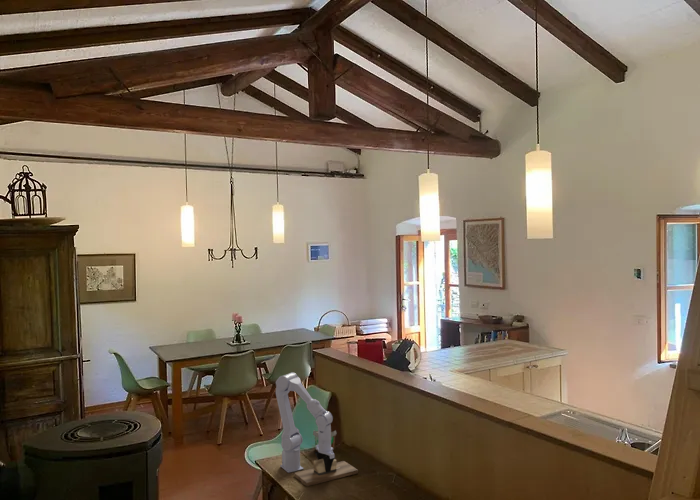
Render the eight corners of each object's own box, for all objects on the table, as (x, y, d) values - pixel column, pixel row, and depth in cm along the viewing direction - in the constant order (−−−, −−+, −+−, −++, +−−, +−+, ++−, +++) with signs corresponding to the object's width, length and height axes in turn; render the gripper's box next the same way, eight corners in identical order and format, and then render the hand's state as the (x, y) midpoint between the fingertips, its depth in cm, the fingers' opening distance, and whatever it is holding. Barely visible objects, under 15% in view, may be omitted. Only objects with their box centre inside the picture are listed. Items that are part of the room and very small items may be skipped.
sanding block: (313, 471, 247) (313, 460, 247) (331, 467, 251) (331, 456, 251) (318, 475, 242) (318, 464, 242) (336, 471, 247) (336, 460, 247)
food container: (310, 452, 275) (310, 433, 275) (313, 448, 281) (313, 429, 281) (334, 453, 273) (334, 433, 273) (336, 449, 279) (336, 430, 279)
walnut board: (294, 476, 246) (294, 472, 246) (343, 464, 259) (343, 460, 259) (306, 486, 235) (306, 482, 235) (358, 473, 248) (358, 469, 248)
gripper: (340, 442, 243) (340, 472, 243) (324, 433, 255) (325, 462, 255) (326, 445, 239) (326, 476, 239) (311, 436, 252) (311, 465, 252)
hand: (325, 469), depth 247 cm, fingers closed on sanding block, 5 cm apart
